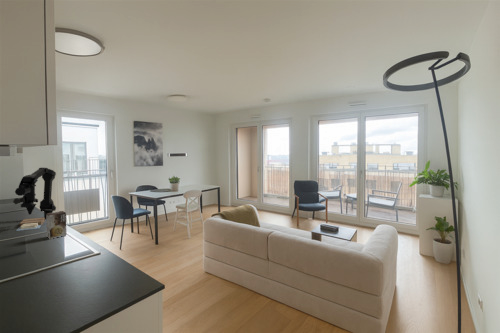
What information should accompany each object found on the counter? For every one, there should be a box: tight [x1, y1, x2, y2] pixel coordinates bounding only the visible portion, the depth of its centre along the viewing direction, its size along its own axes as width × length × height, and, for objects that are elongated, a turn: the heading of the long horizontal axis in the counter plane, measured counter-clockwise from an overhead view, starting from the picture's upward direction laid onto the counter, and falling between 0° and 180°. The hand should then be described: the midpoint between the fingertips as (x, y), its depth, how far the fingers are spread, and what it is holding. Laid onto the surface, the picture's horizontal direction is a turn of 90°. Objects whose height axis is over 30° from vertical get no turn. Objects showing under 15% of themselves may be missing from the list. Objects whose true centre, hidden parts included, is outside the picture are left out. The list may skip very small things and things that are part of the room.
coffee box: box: [45, 210, 68, 240], centre depth 156 cm, size 9×6×16 cm
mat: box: [16, 225, 42, 232], centre depth 171 cm, size 8×12×1 cm, turn 122°
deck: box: [18, 216, 46, 228], centre depth 180 cm, size 13×12×3 cm
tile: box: [21, 223, 38, 229], centre depth 171 cm, size 6×8×2 cm
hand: (30, 214), depth 173 cm, fingers closed
